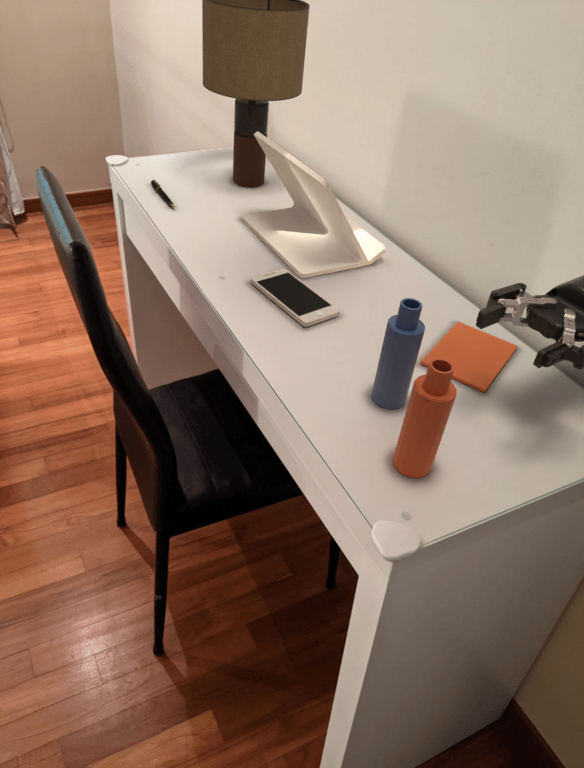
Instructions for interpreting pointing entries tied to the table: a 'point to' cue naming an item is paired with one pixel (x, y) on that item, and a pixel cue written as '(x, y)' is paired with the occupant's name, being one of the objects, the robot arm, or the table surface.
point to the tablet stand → (310, 222)
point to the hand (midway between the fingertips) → (507, 339)
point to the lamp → (253, 68)
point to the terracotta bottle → (425, 419)
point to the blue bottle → (398, 355)
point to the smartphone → (295, 297)
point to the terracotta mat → (472, 355)
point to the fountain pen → (161, 192)
